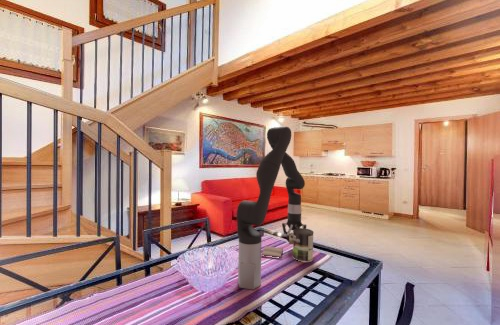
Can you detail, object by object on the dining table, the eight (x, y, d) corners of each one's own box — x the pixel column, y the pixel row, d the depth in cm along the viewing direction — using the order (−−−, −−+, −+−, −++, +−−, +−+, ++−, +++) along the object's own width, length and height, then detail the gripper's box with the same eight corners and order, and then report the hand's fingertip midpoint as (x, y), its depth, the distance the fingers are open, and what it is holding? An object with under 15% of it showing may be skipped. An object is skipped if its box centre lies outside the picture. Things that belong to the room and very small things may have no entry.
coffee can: (298, 263, 114) (299, 234, 114) (289, 255, 124) (289, 228, 124) (317, 261, 117) (317, 233, 117) (306, 253, 127) (306, 227, 127)
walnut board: (280, 258, 119) (280, 256, 119) (261, 256, 121) (261, 254, 121) (282, 250, 131) (282, 248, 131) (265, 248, 133) (265, 246, 133)
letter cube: (298, 244, 129) (298, 235, 129) (289, 244, 130) (289, 234, 130) (298, 241, 134) (298, 232, 134) (289, 241, 135) (289, 232, 135)
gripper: (281, 212, 130) (280, 243, 130) (307, 214, 127) (306, 245, 127) (282, 209, 137) (281, 238, 137) (307, 211, 134) (306, 241, 134)
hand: (293, 242), depth 132 cm, fingers closed on letter cube, 5 cm apart
